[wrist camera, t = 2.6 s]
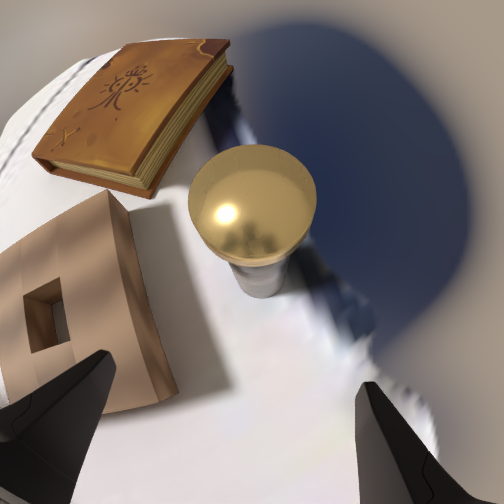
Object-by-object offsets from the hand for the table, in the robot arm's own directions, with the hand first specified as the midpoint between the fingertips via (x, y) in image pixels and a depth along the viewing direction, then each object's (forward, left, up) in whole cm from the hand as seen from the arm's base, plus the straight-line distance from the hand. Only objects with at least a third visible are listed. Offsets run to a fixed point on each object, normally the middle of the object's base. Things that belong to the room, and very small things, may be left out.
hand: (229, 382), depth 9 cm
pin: (+6, -3, -13) cm, 15 cm away
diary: (+32, +4, -14) cm, 35 cm away
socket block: (+8, +16, -13) cm, 22 cm away
